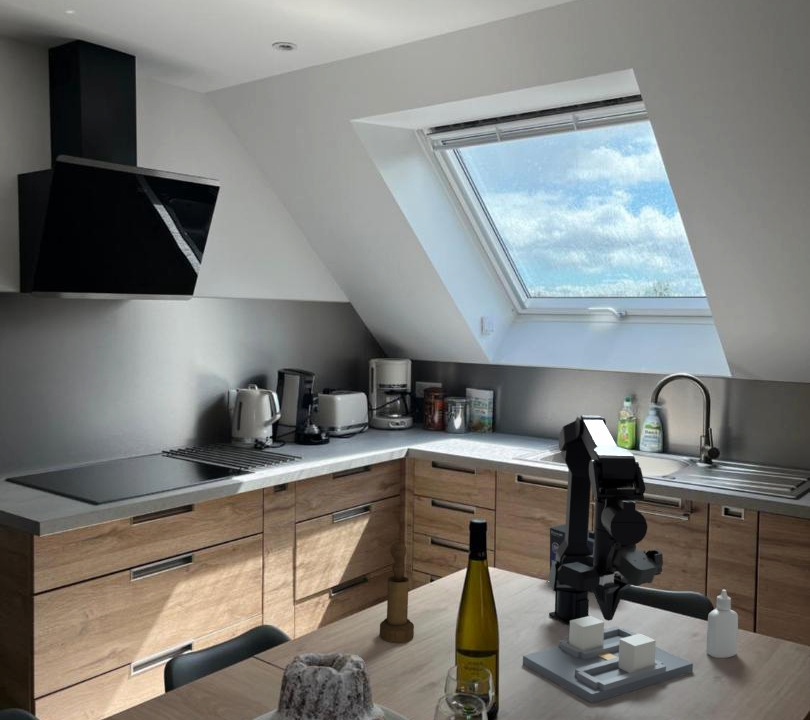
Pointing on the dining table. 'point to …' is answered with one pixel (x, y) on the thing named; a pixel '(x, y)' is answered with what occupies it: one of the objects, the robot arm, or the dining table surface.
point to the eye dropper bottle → (722, 629)
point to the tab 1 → (586, 633)
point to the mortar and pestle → (397, 602)
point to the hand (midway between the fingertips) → (608, 619)
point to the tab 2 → (636, 652)
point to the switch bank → (602, 667)
